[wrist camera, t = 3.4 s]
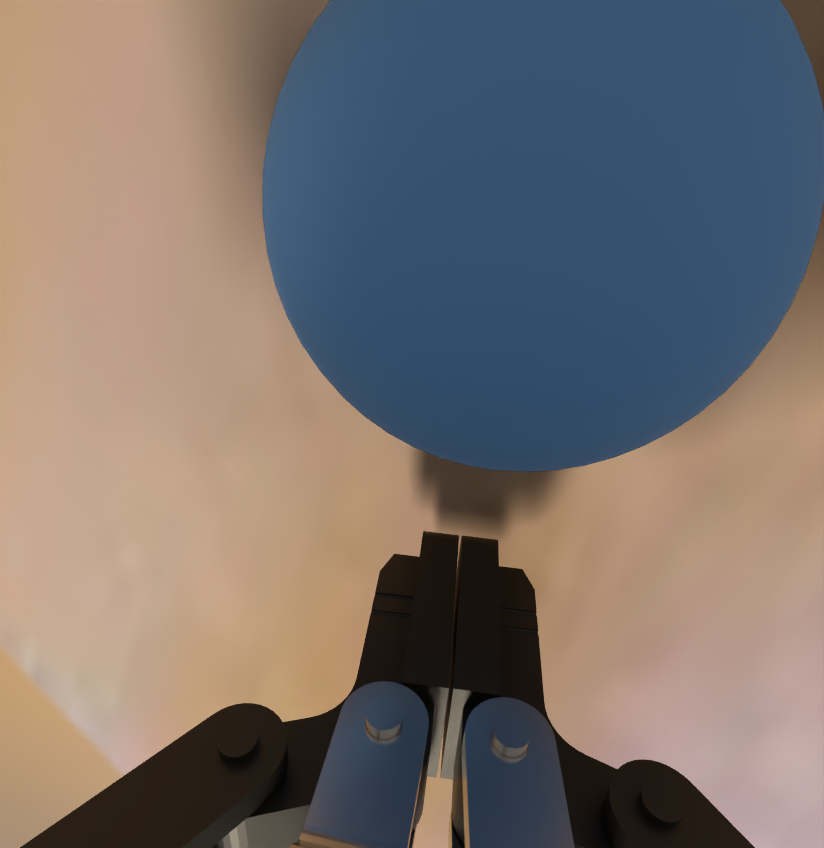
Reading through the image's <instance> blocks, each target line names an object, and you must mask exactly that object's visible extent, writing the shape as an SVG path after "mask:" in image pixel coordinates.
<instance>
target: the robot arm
mask: <svg viewBox="0 0 824 848" xmlns="http://www.w3.org/2000/svg"><path fill="white" fill-rule="evenodd" d="M458 543H459V535H451V534H443V533H435V532H426V531H424V532H423V537H422V544H421V551H420V557H416V556H408V555H399V554H394V555H393V556H392V557H391V559H390V560H389V561H388V562H387V563H386V565H385V566H384V567H383V568H382V569H381V570H380V574H379V578H378V583H377V587H376V592H375V597H374V601H373V606H372V612H371V615H370V620H369V624H368V629H367V633H366V638H365V643H364V647H363V652H362V656H361V661H360V666H359V670H358V675H357V679H356V682H355V685H354V687H353V689H352V691H351V692H350V694H349V695H348V696H347V698H346V699H345V700H344V701H343V702H342V703H340V704H339V705H338V706H337V707H335V708H334V709H332V710H330V711H328V712H326V713H324V714H321V715H318V716H314V717H310V718H304V719H299V720H293V721H288V722H282V721H281V719H280V718H279V716H278V715H277V714H275V713H274V712H273V711H272V710H270V709H268V708H267V707H264V706H262V705H258V704H252V703H243V704H236V705H232V706H229V707H226V708H224V709H222V710H220V711H218V712H216V713H215V714H213V715H212V716H210V717H209V718H207V719H206V720H204V721H203V722H201V723H200V724H199V725H197V726H196V727H194V728H193V729H191V730H190V731H188V732H187V733H186V734H184V735H183V736H181V737H180V738H178V739H177V740H175V741H174V742H172V743H171V744H170V745H168V746H167V747H165V748H164V749H162V750H161V751H159V752H158V753H157V754H155V755H154V756H152V757H151V758H149V759H148V760H146V761H145V762H144V763H142V764H141V765H139V766H138V767H136V768H135V769H133V770H132V771H130V772H129V773H128V774H126V775H125V776H123V777H122V778H120V779H119V780H117V781H116V782H115V783H113V784H112V785H110V786H109V787H107V788H106V789H104V790H103V791H101V792H100V793H99V794H97V795H96V796H94V797H93V798H91V799H90V800H89V801H87V802H86V803H84V804H83V805H81V806H80V807H78V808H77V809H76V810H74V811H72V812H71V813H70V814H68V815H67V816H65V817H64V818H62V819H61V820H59V821H58V822H57V823H55V824H54V825H52V826H51V827H49V828H48V829H46V830H45V831H44V832H42V833H41V834H39V835H38V836H36V837H35V838H33V839H32V840H30V841H29V842H28V843H26V844H25V845H23V846H22V847H20V848H413V845H414V839H415V833H416V827H417V824H418V822H419V820H420V817H421V815H422V810H423V803H424V795H425V787H426V780H427V776H430V777H437V770H438V763H439V756H440V749H441V742H442V734H443V727H444V734H443V748H442V762H441V777H440V778H446V779H453V793H452V809H451V815H450V821H449V848H755V847H754V846H753V845H752V844H751V843H750V842H749V841H748V840H747V839H746V838H745V837H744V836H743V835H742V834H741V833H740V832H739V831H738V830H737V829H736V828H735V827H734V826H733V825H732V824H731V823H730V822H729V821H728V820H727V819H726V818H725V817H724V816H723V815H722V814H721V813H720V812H719V811H718V810H717V809H716V808H715V807H714V806H713V805H712V803H711V802H710V801H709V800H708V799H707V798H706V797H705V796H704V795H703V794H702V793H701V792H700V791H699V790H698V789H697V788H696V787H695V786H694V785H693V784H692V783H691V782H690V781H689V780H688V779H687V778H685V777H684V776H683V775H682V774H680V773H679V772H678V771H676V770H674V769H673V768H671V767H669V766H667V765H665V764H662V763H659V762H656V761H652V760H634V761H630V762H627V763H626V764H624V765H622V766H621V767H620V768H619V769H618V770H617V769H615V768H613V767H611V766H609V765H607V764H604V763H602V762H600V761H598V760H596V759H594V758H591V757H589V756H587V755H585V754H583V753H581V752H579V751H578V750H576V749H575V748H573V747H572V746H570V745H569V744H568V743H567V742H566V741H565V740H564V739H563V738H562V737H561V736H560V735H559V734H558V733H557V732H556V730H555V729H554V727H553V726H552V724H551V722H550V720H549V718H548V716H547V713H546V710H545V704H544V695H543V683H542V671H541V659H540V648H539V636H538V624H537V616H536V601H535V590H534V588H533V586H532V585H531V583H530V581H529V580H528V578H527V576H526V575H525V573H524V571H523V570H522V569H517V568H509V567H500V566H499V558H498V540H495V539H487V538H478V537H470V536H462V537H461V544H460V551H459V559H458V567H457V558H458ZM456 573H457V574H456Z"/></svg>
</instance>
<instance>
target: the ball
mask: <svg viewBox="0 0 824 848" xmlns="http://www.w3.org/2000/svg"><path fill="white" fill-rule="evenodd" d="M823 202H824V112H823V104H822V100H821V96H820V93H819V89H818V85H817V81H816V78H815V74H814V70H813V66H812V63H811V61H810V59H809V56H808V54H807V52H806V50H805V47H804V45H803V43H802V40H801V38H800V36H799V34H798V31H797V29H796V27H795V25H794V22H793V20H792V18H791V16H790V14H789V13H788V11H787V10H786V8H785V7H784V5H783V4H782V2H781V1H780V0H331V1H330V2H329V3H328V5H327V6H326V7H325V9H324V10H323V11H322V13H321V14H320V15H319V17H318V18H317V19H316V21H315V22H314V23H313V25H312V27H311V28H310V30H309V32H308V34H307V36H306V37H305V39H304V41H303V43H302V45H301V46H300V48H299V50H298V52H297V53H296V55H295V57H294V59H293V61H292V63H291V66H290V68H289V71H288V73H287V76H286V78H285V81H284V83H283V86H282V88H281V91H280V93H279V96H278V98H277V102H276V106H275V110H274V113H273V117H272V121H271V125H270V129H269V133H268V137H267V145H266V153H265V160H264V168H263V221H264V229H265V238H266V246H267V253H268V258H269V262H270V266H271V270H272V274H273V278H274V282H275V286H276V288H277V291H278V294H279V296H280V299H281V302H282V304H283V307H284V310H285V312H286V315H287V317H288V319H289V321H290V323H291V325H292V327H293V328H294V330H295V332H296V334H297V336H298V338H299V340H300V342H301V344H302V345H303V347H304V348H305V350H306V351H307V352H308V354H309V355H310V357H311V358H312V360H313V361H314V363H315V364H316V366H317V367H318V369H319V370H320V371H321V372H322V374H323V375H324V376H325V377H326V378H327V379H328V380H329V382H330V383H331V384H332V385H333V386H334V387H335V388H336V390H337V391H338V392H339V393H340V394H341V395H342V396H343V397H344V398H345V399H346V400H347V401H348V402H349V403H350V404H351V405H352V406H354V407H355V408H356V409H357V410H358V411H359V412H360V413H361V414H362V415H364V416H365V417H366V418H368V419H369V420H370V421H372V422H373V423H375V424H376V425H377V426H379V427H380V428H382V429H383V430H385V431H386V432H387V433H389V434H391V435H393V436H394V437H396V438H398V439H400V440H402V441H404V442H405V443H407V444H409V445H411V446H413V447H415V448H417V449H420V450H422V451H425V452H427V453H430V454H432V455H434V456H437V457H439V458H443V459H446V460H450V461H453V462H457V463H460V464H464V465H467V466H473V467H479V468H486V469H492V470H501V471H519V472H532V471H551V470H560V469H566V468H572V467H578V466H585V465H588V464H592V463H596V462H599V461H603V460H607V459H610V458H614V457H617V456H619V455H622V454H624V453H627V452H629V451H632V450H634V449H637V448H640V447H642V446H644V445H646V444H648V443H650V442H652V441H654V440H656V439H658V438H660V437H662V436H664V435H666V434H668V433H669V432H671V431H673V430H675V429H676V428H678V427H679V426H681V425H682V424H684V423H685V422H687V421H688V420H690V419H691V418H693V417H694V416H696V415H697V414H699V413H700V412H701V411H702V410H704V409H705V408H706V407H707V406H708V405H710V404H711V403H712V402H713V401H714V400H716V399H717V398H718V397H719V396H720V395H722V394H723V393H724V392H725V391H726V390H727V389H728V388H729V387H730V386H731V385H732V384H733V383H734V382H735V381H736V380H737V379H738V378H739V377H740V376H741V375H742V374H743V373H744V372H745V371H746V370H747V368H748V367H749V366H750V365H751V364H752V363H753V361H754V360H755V359H756V357H757V356H758V355H759V353H760V352H761V351H762V350H763V348H764V347H765V346H766V344H767V343H768V342H769V340H770V339H771V338H772V336H773V334H774V333H775V331H776V329H777V328H778V326H779V324H780V323H781V321H782V319H783V318H784V316H785V314H786V313H787V311H788V309H789V308H790V306H791V304H792V301H793V299H794V297H795V295H796V292H797V290H798V288H799V286H800V283H801V281H802V279H803V277H804V274H805V272H806V269H807V266H808V263H809V259H810V256H811V253H812V249H813V246H814V243H815V240H816V236H817V233H818V230H819V226H820V220H821V214H822V208H823Z"/></svg>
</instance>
